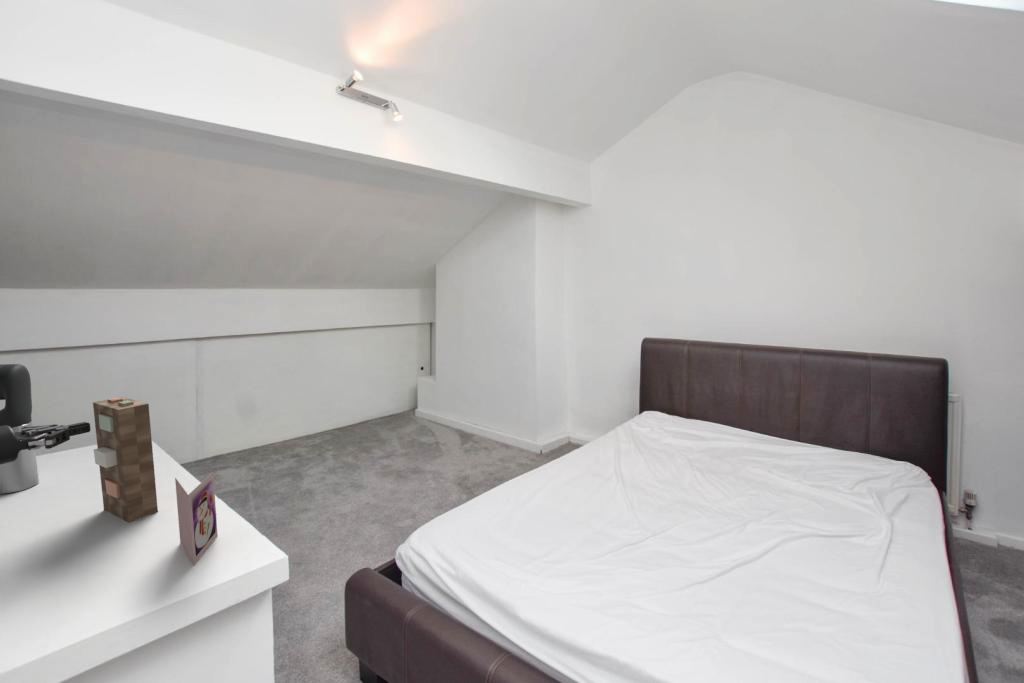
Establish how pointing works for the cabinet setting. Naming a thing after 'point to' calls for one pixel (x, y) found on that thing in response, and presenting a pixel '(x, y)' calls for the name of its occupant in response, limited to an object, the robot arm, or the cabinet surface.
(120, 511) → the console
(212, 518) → the greeting card
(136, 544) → the cabinet surface
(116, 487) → the block
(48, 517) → the cabinet surface
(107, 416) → the key top
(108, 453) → the key middle
